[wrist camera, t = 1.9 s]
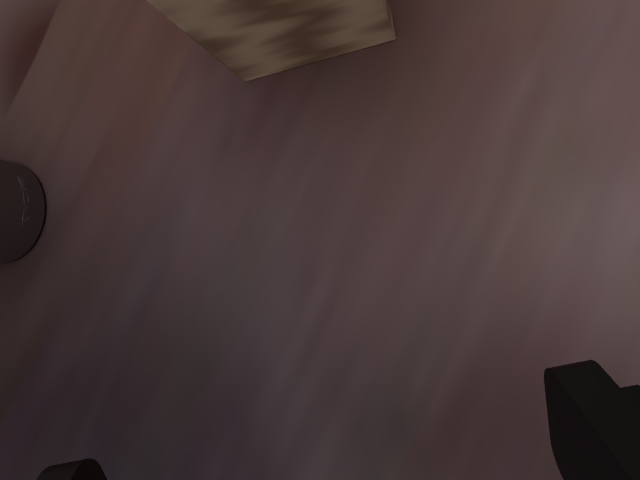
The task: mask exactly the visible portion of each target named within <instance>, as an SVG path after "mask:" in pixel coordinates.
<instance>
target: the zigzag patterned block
mask: <svg viewBox="0 0 640 480" xmlns="http://www.w3.org/2000/svg"><path fill="white" fill-rule="evenodd" d="M146 1H147V2H148V3H150V4H151V5H152V6H153V7H154V8H156V9H157V10H158V11H159V12H161V13H162V14H163V15H164V16H165V17H167V18H168V19H169V20H170V21H172V22H173V23H174V24H175V25H176V26H178V27H179V28H180V29H181V30H183V31H184V32H185V33H186V34H187V35H189V36H190V37H191V38H192V39H194V40H195V41H196V42H197V43H198V44H200V45H201V46H202V47H203V48H205V49H206V50H207V51H208V52H209V53H211V54H212V55H213V56H214V57H216V58H217V59H218V60H219V61H220V62H222V63H223V64H224V65H225V66H227V67H228V68H229V69H230V70H231V71H233V72H234V73H235V74H236V75H238V76H239V77H240V78H241V79H242V80H244V81H245V82H246V81H249V80H253V79H257V78H260V77H264V76H267V75H271V74H274V73H278V72H281V71H285V70H289V69H292V68H296V67H299V66H303V65H306V64H310V63H314V62H317V61H321V60H324V59H328V58H331V57H335V56H339V55H342V54H346V53H349V52H353V51H356V50H360V49H364V48H367V47H371V46H374V45H378V44H381V43H385V42H389V41H392V40H396V37H395V31H394V24H393V18H392V13H391V10H390V7H389V4H388V1H387V0H146Z"/></svg>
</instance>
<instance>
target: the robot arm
mask: <svg viewBox="0 0 640 480" xmlns="http://www.w3.org/2000/svg"><path fill="white" fill-rule="evenodd" d="M44 215H45V201H44V195H43V191H42V188H41V185H40V183H39V181H38V180H37V178H36V176H35V175H34V174H33V173H32V172H31V171H30V170H29V169H28V168H26V167H24V166H23V165H20V164H17V163H13V162H9V161H5V160H1V159H0V263H5V262H11V261H14V260H16V259H18V258H20V257H21V256H23V255H24V254H25V253H27V252H28V251H29V249H30V248H31V247H32V246H33V245H34V243H35V241H36V240H37V238H38V236H39V234H40V231H41V228H42V226H43V221H44ZM544 384H545V393H546V403H547V412H548V422H549V431H550V440H551V446H552V450H553V454H554V457H555V460H556V463H557V466H558V468H559V471H560V473H561V475H562V477H563V479H564V480H640V385H634V386H628V387H623V388H620V387H619V386H618V385H617V384H616V383H615V382H614V381H613V379H612V378H611V377H610V376H609V375H608V374H607V373H606V372H605V371H604V369H603V368H602V367H601V366H600V365H599V364H598V363H597V362H595V361H593V360H588V361H583V362H577V363H572V364H567V365H562V366H557V367H552V368H547V369H545V372H544ZM36 480H107V478H106V476H105V474H104V472H103V470H102V468H101V466H100V465H99V463H98V462H97V461H96V460H94V459H84V460H78V461H73V462H68V463H63V464H58V465H52V466H49V467H47V468H45V469H44V470H43V471H42V472H41V474H40V475H39V476H38V478H37V479H36Z"/></svg>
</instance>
